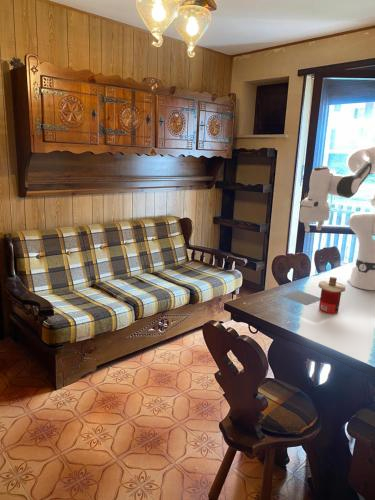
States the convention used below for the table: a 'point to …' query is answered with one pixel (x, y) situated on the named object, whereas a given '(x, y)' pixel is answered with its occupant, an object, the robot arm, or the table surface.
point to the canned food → (329, 302)
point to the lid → (332, 285)
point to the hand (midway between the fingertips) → (312, 230)
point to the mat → (301, 297)
